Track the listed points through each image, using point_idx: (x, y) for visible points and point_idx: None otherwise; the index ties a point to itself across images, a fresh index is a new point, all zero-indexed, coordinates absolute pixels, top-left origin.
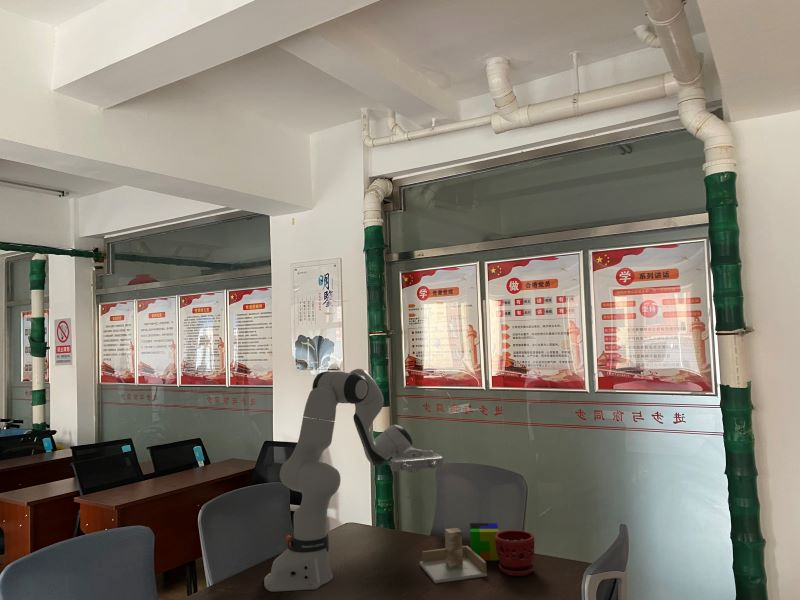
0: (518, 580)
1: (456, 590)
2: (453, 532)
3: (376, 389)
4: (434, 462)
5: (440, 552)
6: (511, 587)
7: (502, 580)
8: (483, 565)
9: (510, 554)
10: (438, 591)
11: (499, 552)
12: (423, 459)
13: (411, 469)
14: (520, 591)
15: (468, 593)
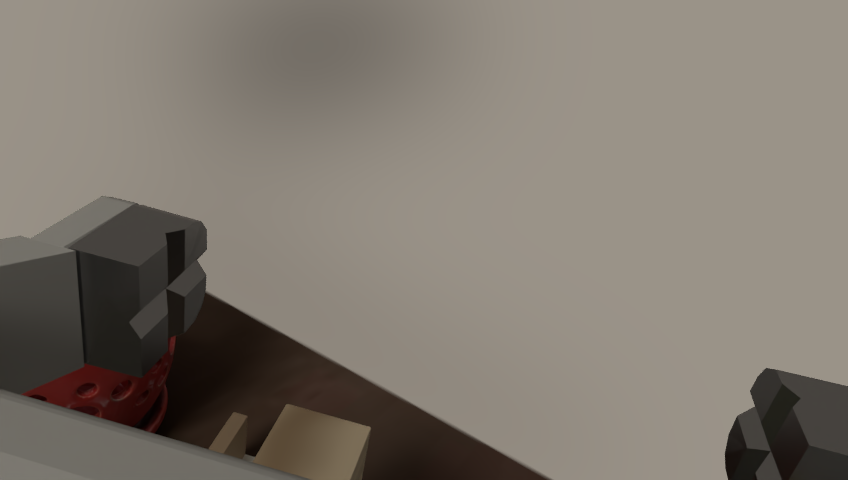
0: (170, 373)
1: (436, 440)
2: (339, 421)
3: None
4: (30, 240)
5: None
6: (247, 356)
7: (218, 403)
8: (246, 427)
9: None
10: (505, 470)
11: (170, 358)
12: (136, 436)
13: (740, 429)
14: (250, 329)
15: (411, 403)
